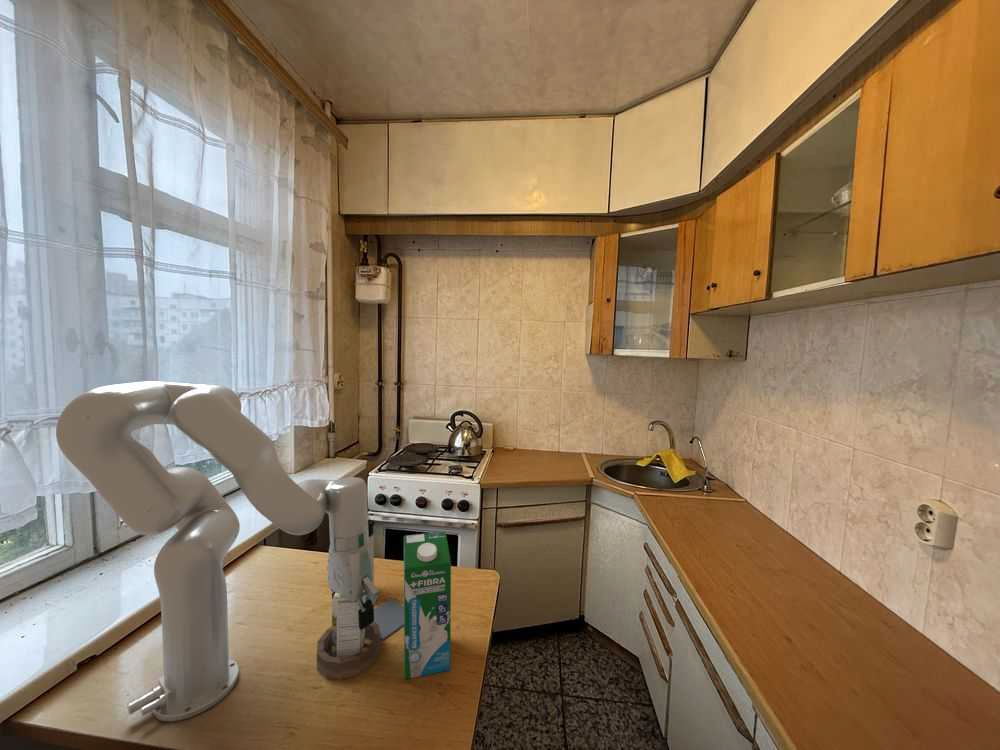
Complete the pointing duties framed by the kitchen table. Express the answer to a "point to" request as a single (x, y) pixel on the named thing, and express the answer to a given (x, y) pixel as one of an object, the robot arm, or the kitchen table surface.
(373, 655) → the collar
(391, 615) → the mat
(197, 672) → the robot arm
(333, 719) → the kitchen table surface
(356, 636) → the syrup box
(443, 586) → the milk carton
